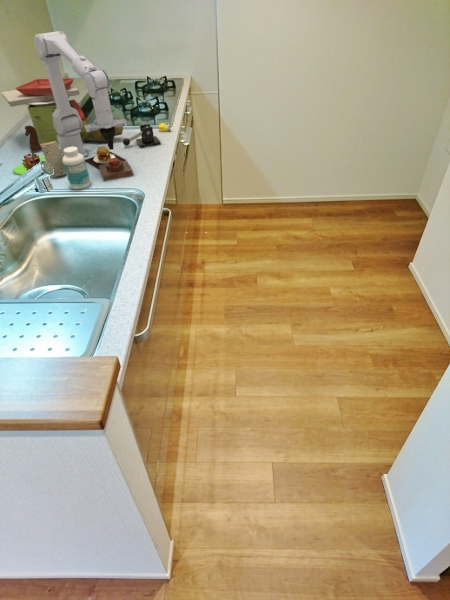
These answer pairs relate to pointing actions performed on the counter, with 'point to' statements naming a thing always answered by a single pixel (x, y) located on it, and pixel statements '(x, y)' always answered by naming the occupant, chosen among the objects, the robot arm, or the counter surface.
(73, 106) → the decorative object
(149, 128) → the bracket
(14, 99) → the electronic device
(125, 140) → the lever
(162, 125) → the light bulb
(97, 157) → the hamburger
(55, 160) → the carving
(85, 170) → the pill bottle
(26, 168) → the brown lump green base
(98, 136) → the stone tool
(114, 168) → the button block
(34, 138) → the chess piece
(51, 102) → the plate
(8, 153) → the counter surface
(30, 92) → the plant saucer
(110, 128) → the robot arm
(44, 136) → the protein box
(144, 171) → the counter surface
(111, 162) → the button
